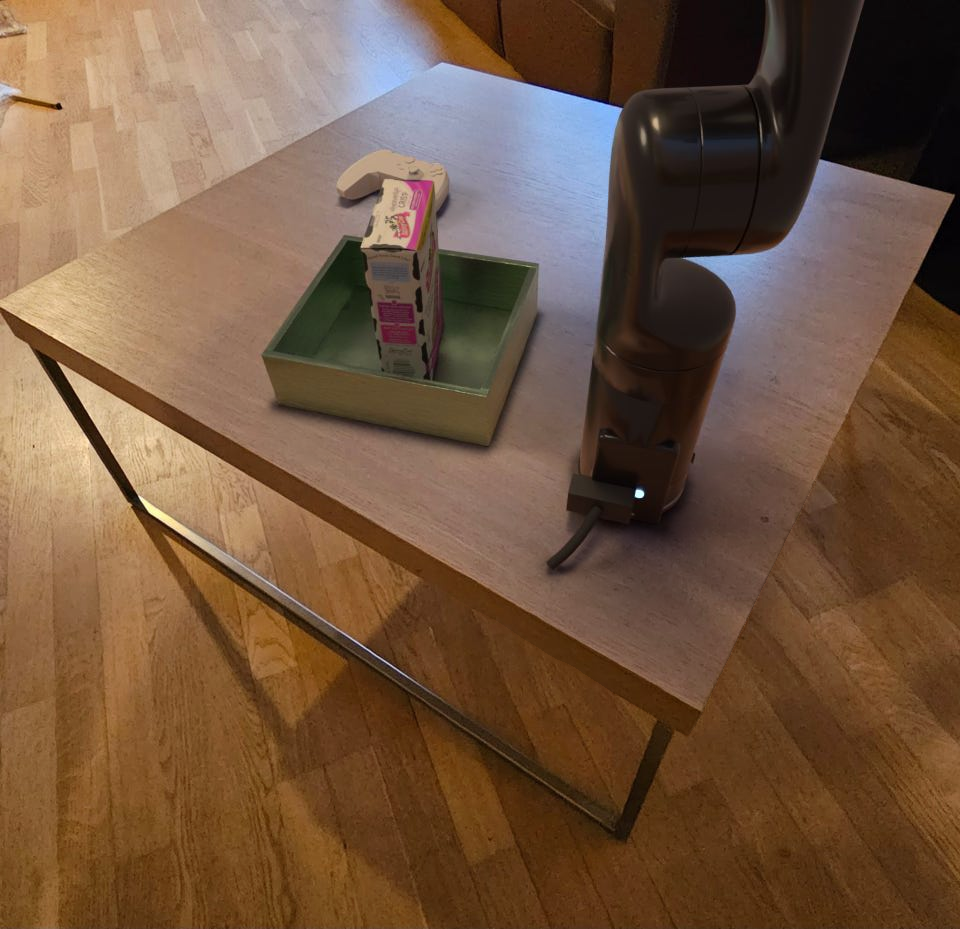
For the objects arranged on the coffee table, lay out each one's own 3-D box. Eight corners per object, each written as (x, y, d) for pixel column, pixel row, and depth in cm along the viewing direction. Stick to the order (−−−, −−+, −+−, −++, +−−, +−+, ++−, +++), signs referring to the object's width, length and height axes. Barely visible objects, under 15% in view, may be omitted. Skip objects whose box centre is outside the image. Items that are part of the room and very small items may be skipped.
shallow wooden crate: (488, 446, 67) (486, 397, 62) (278, 404, 71) (260, 354, 66) (537, 314, 79) (539, 263, 74) (354, 284, 83) (343, 234, 78)
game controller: (324, 182, 91) (367, 132, 95) (335, 209, 95) (376, 160, 99) (419, 211, 86) (461, 157, 90) (427, 239, 90) (466, 186, 94)
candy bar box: (433, 393, 71) (417, 250, 58) (383, 391, 71) (356, 248, 58) (447, 319, 78) (435, 176, 65) (401, 317, 78) (381, 175, 65)
